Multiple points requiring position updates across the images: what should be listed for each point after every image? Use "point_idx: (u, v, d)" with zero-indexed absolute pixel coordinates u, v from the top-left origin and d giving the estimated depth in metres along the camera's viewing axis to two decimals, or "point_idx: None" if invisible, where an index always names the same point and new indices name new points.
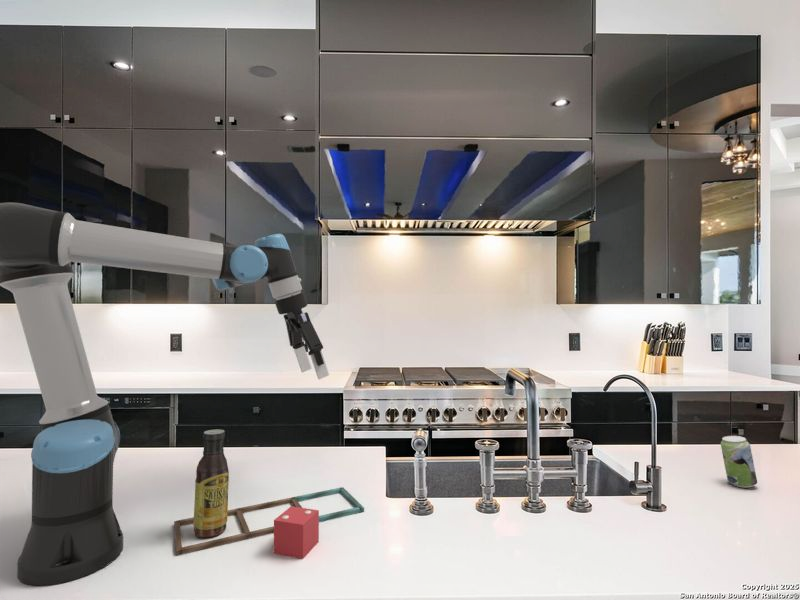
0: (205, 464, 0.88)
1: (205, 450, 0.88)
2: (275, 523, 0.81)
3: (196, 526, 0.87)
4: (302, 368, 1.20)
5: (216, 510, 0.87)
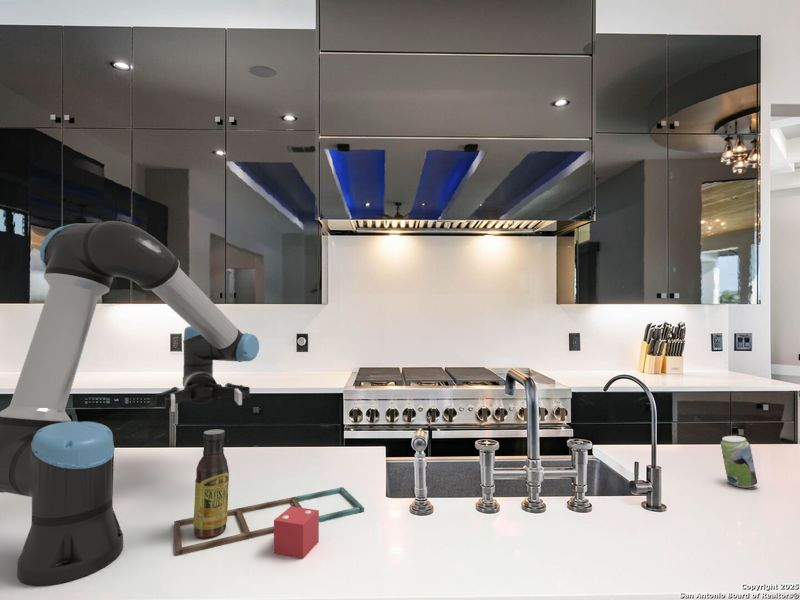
0: (205, 464, 0.88)
1: (205, 450, 0.88)
2: (275, 523, 0.81)
3: (196, 526, 0.87)
4: (175, 399, 0.96)
5: (216, 510, 0.87)
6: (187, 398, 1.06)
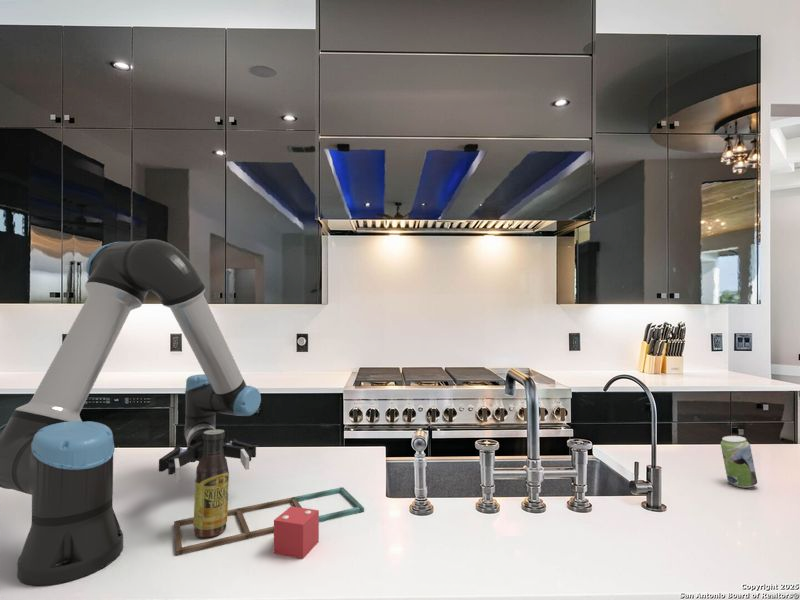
0: (205, 464, 0.88)
1: (205, 450, 0.88)
2: (275, 523, 0.81)
3: (196, 526, 0.87)
4: (179, 467, 0.92)
5: (216, 510, 0.87)
6: (191, 459, 1.02)
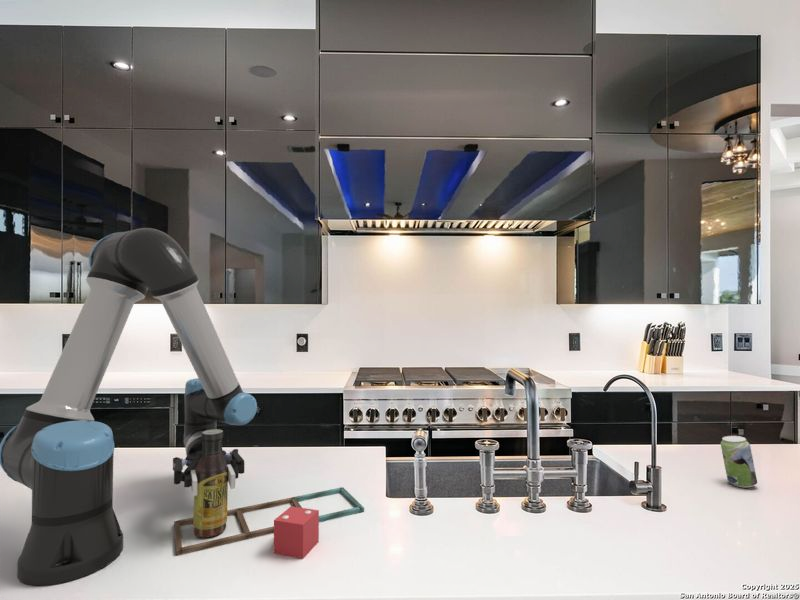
0: (204, 464, 0.87)
1: (204, 450, 0.88)
2: (275, 523, 0.81)
3: (196, 526, 0.87)
4: (196, 480, 0.84)
5: (216, 510, 0.87)
6: None
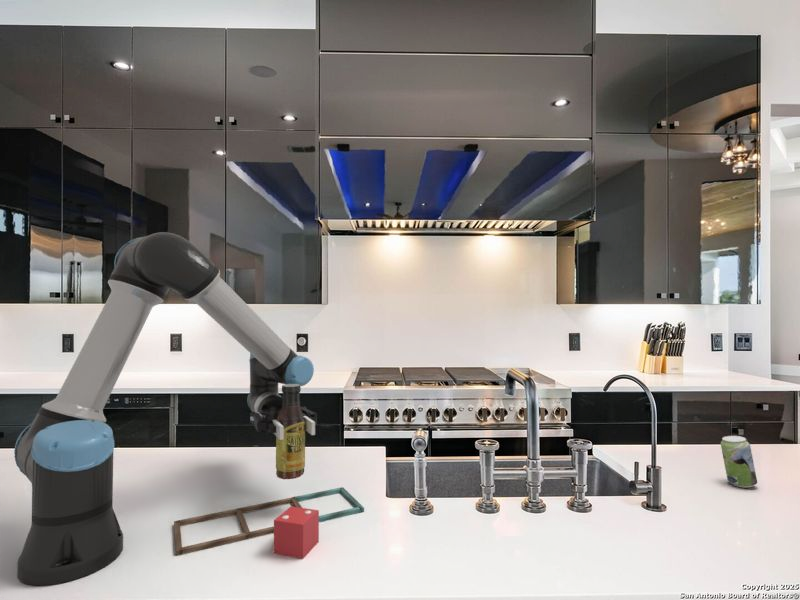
0: (286, 414, 0.97)
1: (285, 401, 0.97)
2: (275, 523, 0.81)
3: (279, 469, 0.96)
4: None
5: (297, 455, 0.96)
6: None
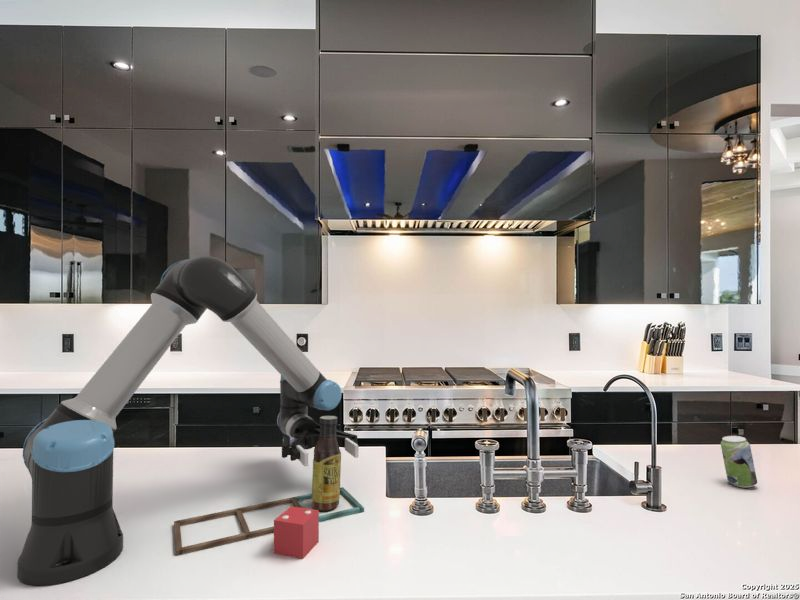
0: (323, 446, 0.99)
1: (322, 433, 1.00)
2: (275, 523, 0.81)
3: (316, 500, 0.98)
4: None
5: (333, 487, 0.98)
6: (303, 447, 1.06)
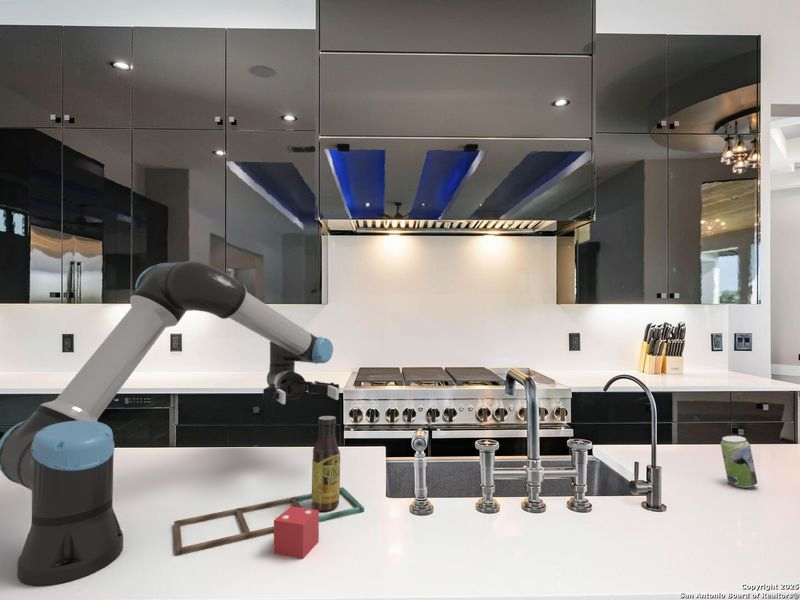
0: (322, 446, 0.99)
1: (321, 434, 1.00)
2: (275, 523, 0.81)
3: (316, 500, 0.98)
4: (284, 393, 1.09)
5: (333, 487, 0.98)
6: (285, 393, 1.19)
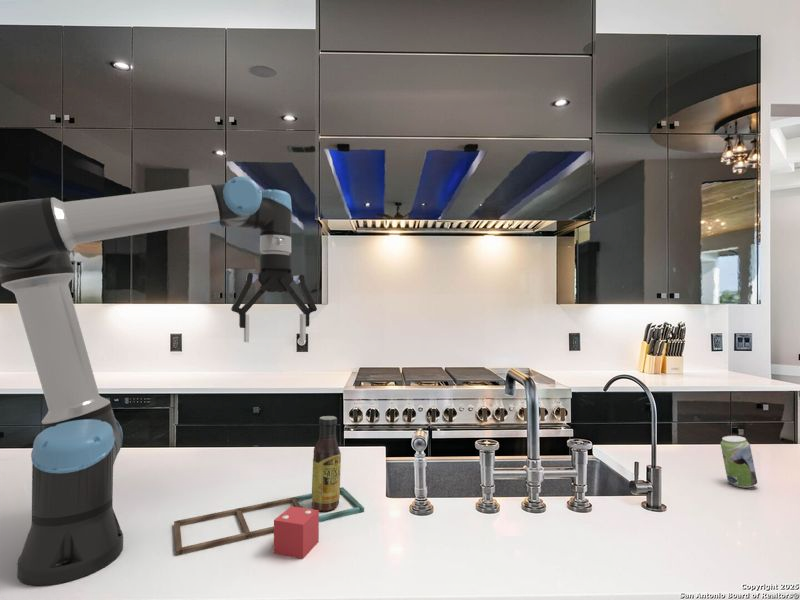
0: (323, 446, 0.99)
1: (322, 434, 1.00)
2: (275, 523, 0.81)
3: (316, 500, 0.98)
4: (300, 335, 1.13)
5: (333, 487, 0.98)
6: (290, 295, 1.10)
